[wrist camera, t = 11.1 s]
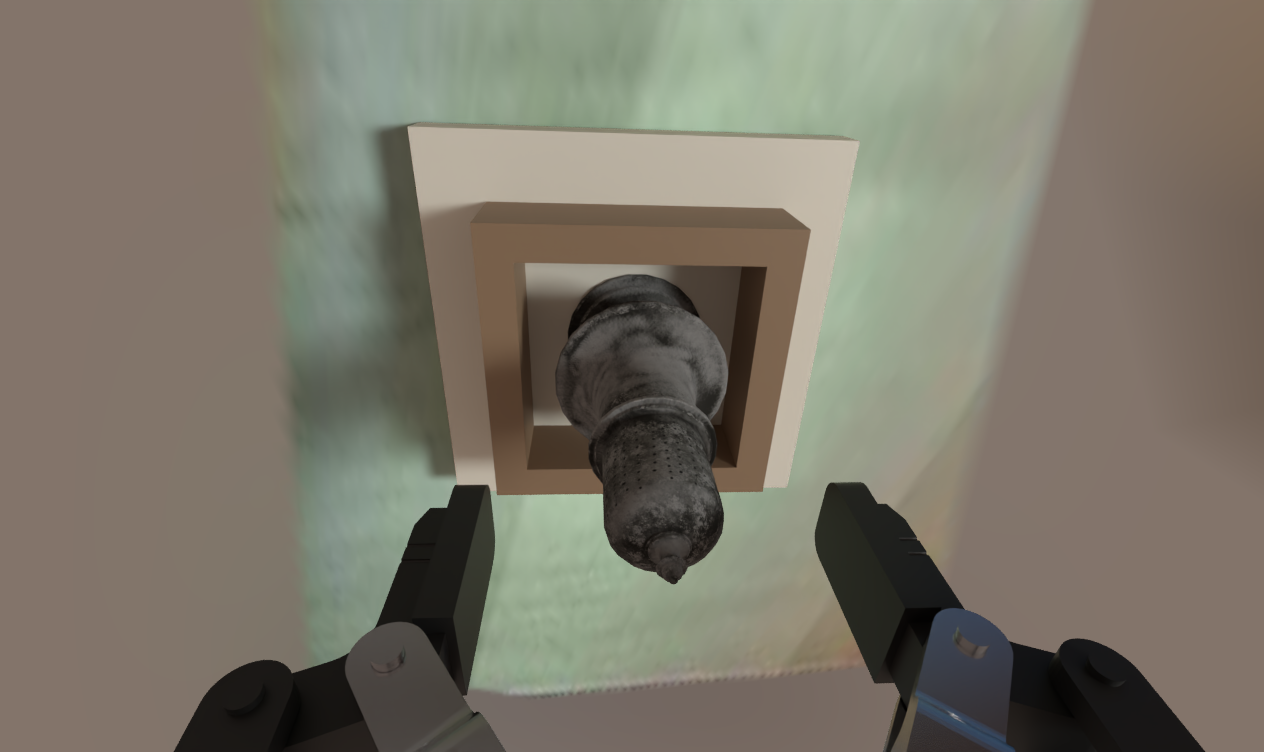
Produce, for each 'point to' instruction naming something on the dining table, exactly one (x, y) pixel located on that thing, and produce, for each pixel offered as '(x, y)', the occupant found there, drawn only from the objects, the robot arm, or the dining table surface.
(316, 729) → the robot arm
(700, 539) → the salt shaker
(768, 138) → the shaker stand
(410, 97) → the dining table surface
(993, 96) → the dining table surface
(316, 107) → the dining table surface
